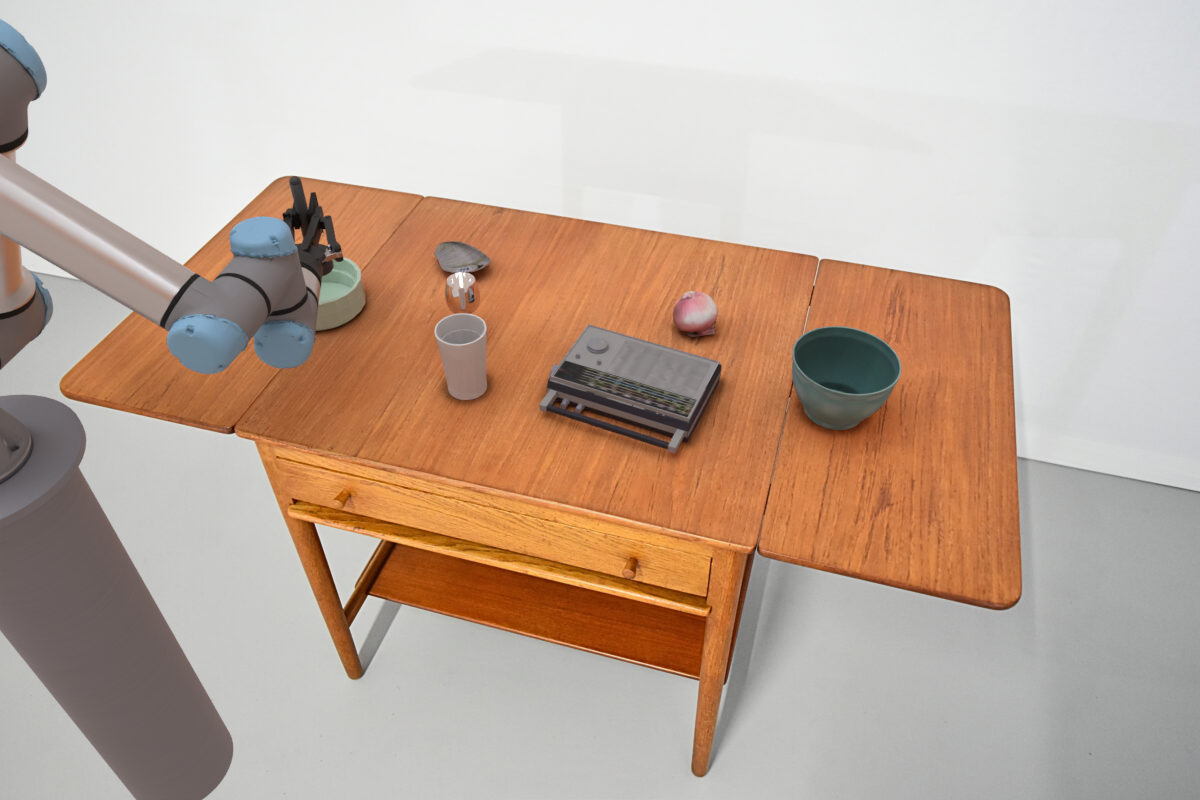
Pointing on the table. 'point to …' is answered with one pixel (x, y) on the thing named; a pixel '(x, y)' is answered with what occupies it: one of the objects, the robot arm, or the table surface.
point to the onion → (695, 314)
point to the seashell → (460, 257)
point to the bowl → (340, 295)
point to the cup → (463, 354)
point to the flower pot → (843, 375)
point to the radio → (632, 386)
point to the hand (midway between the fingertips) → (307, 200)
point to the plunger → (305, 215)
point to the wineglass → (462, 293)
